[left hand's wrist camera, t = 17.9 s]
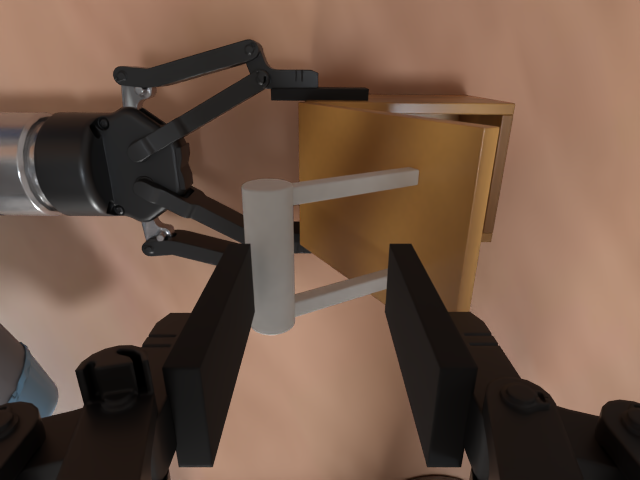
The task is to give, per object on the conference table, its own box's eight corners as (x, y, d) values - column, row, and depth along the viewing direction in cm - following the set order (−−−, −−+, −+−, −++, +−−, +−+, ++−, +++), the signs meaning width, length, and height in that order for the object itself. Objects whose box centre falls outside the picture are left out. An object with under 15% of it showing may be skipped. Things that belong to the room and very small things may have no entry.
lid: (500, 126, 15) (284, 145, 11) (464, 345, 19) (291, 422, 15) (310, 101, 26) (167, 106, 22) (310, 242, 30) (187, 268, 26)
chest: (467, 95, 35) (515, 103, 27) (453, 204, 39) (491, 242, 30) (308, 93, 35) (304, 101, 27) (308, 202, 39) (305, 240, 30)
